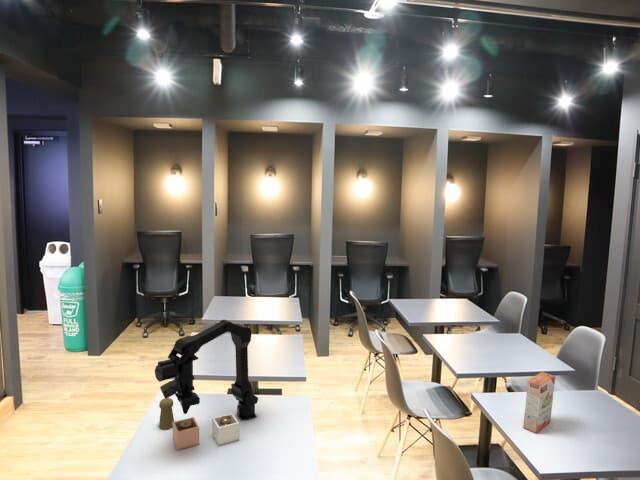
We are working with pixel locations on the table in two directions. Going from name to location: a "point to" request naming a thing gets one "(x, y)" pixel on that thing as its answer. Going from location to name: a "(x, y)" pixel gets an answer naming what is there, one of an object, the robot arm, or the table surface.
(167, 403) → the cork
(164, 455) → the table surface
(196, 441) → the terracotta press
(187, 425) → the brown and grey plunger
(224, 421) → the round copper knob
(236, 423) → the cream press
